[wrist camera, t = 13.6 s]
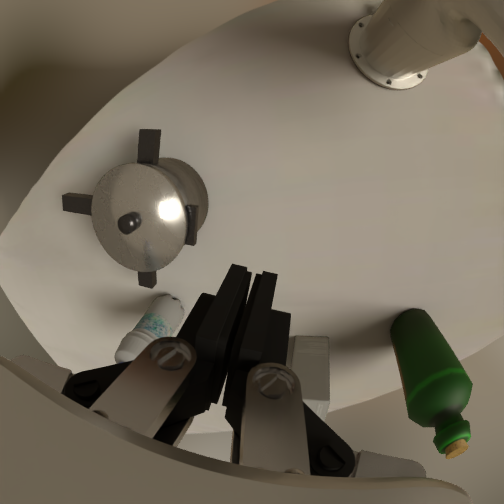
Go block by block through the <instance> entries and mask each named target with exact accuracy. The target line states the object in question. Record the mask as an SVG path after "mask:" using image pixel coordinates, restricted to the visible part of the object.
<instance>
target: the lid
mask: <svg viewBox="0 0 504 504" xmlns="http://www.w3.org/2000/svg"><path fill="white" fill-rule="evenodd" d="M91 214H92V222H93V226H94V230H95V233H96V235H97V237H98V239H99V241H100V243H101V245H102V246H103V248H104V249H105V250H106V252H107V253H108V254H109V255H110V256H111V257H112V258H113V259H114V260H115V261H117V262H118V263H119V264H121V265H123V266H124V267H127V268H129V269H132V270H135V271H140V272H152V271H156V270H159V269H161V268H164V267H165V266H167V265H168V264H169V263H171V262H172V261H173V260H174V259H175V258H176V256H177V255H178V254H179V253H180V251H181V249H182V248H183V246H184V243H185V241H186V237H187V231H188V216H187V210H186V206H185V203H184V200H183V198H182V195H181V194H180V192H179V190H178V188H177V187H176V185H175V184H174V183H173V182H172V180H171V179H170V178H169V177H168V176H167V175H166V174H164V173H163V172H162V171H160V170H159V169H157V168H155V167H153V166H151V165H147V164H143V163H128V164H124V165H120V166H117V167H115V168H113V169H112V170H110V171H109V172H108V173H106V174H105V175H104V176H103V177H102V179H101V180H100V182H99V183H98V185H97V187H96V189H95V192H94V195H93V199H92V206H91Z"/></svg>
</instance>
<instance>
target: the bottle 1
mask: <svg viewBox="0 0 504 504" xmlns="http://www.w3.org/2000/svg"><path fill="white" fill-rule="evenodd" d="M183 316H184V308H183V307H181V305H180V300H178V299H177V300H174V299H172V296H171V295H165V296H160V297H158V298H156V299H155V300H154V301H153V303H152V304H151V305H150V307H149V309H148V310H147V312H146V313H145V315H144V316H143V317H142V319H141V320H140V321H139V323H138V324H137V325H136V326H135V328H134V329H133V330H132V331H131V332H129V333H127V335H126V336H125V337H124V338H123V339H122V341H121V343H120V345H119V347H118V349H117V351H116V353H115V361H116V363H117V364H119V363H123V362H127V361H131V360H134V359H135V358H136V357H137V356H138V355H139V354H140V353H141V352H142V351H143V350H144V349H145V348H146V346H147V345H148V344H150V343H151V342H152V341H153V340H156V339H158V338H161V337H171V336H172V334H173V333H174V331H175V330H176V329H177V327H178V326H179V324H180V323H181V321H182V319H183Z"/></svg>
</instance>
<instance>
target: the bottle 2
mask: <svg viewBox="0 0 504 504" xmlns="http://www.w3.org/2000/svg"><path fill="white" fill-rule="evenodd" d="M390 333H391V340H392V344H393V348H394V352H395V356H396V360H397V364H398V368H399V372H400V377H401V381H402V386H403V390H404V395H405V400H406V406H407V411H408V417H409V418H410V419H411V420H412V421H414V422H415V423H417V424H419V425H420V426H422V427H435V432H436V436H435V437H434V440H433V442H434V444H435V446H436V448H437V450H438V451H439V453H441V454H446V459H450V458H454V457H456V456H458V455H460V454H462V453H463V452H465V451H466V450H467V449H468V445H467V442H468V441H469V439H470V437H471V434H470V424H469V422H468V421H467V420H463V418H462V416H461V414H460V413H461V412H462V411H463V409H464V408H465V407H466V405H467V404H468V401H469V398H470V395H471V390H472V385H473V384H472V382H471V381H470V379H469V377H468V375H467V374H466V372H465V370H464V368H463V367H462V365H461V363H460V362H459V360H458V358H457V357H456V355H455V354H454V352H453V350H452V349H451V347H450V346H449V344H448V343H447V341H446V339H445V338H444V336H443V335H442V333H441V332H440V330H439V329H438V327H437V326H436V325H435V323H434V322H433V320H432V319H431V317H430V316H429V315H428V314H427V312H426V311H425V310H420V309H413V310H410V311H407V312H404V313H403V314H402V315H401V316H399V317H398V318H397V319H396V320H395V321H394V323H393V325H392V327H391V329H390Z"/></svg>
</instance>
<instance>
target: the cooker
mask: <svg viewBox="0 0 504 504" xmlns="http://www.w3.org/2000/svg"><path fill="white" fill-rule="evenodd" d="M160 137H161V130H159V129H140V131H139V143H138V159H137V163H143V164H147V165H151V166H153V167H155V168H157V169H159V170H160V171H162V172H163V173H164V174H166V175H167V176H168V177H169V178H170V179H171V180H172V182H173V183H174V184H175V185H176V187H177V188H178V190H179V192H180V194H181V195H182V198H183V200H184V203H185V206H186V210H187V216H188V231H187V237H186V241H185V243H184V245H185V244H187V245H192V246H194V245H195V244H196V241H197V232H198V230H199V229H200V228H201V227H202V225H203V223H204V221H205V219H206V216H207V212H208V194H207V190H206V187H205V184H204V182H203V180H202V179H201V177H200V176H199V174H198V173H197V172H196V171H195V170H194V169H193V168H192V167H191V166H190V165H188V164H187V163H185V162H183V161H181V160H178V159H174V158H159V149H160ZM92 199H93V195H86V194H77V193H67V194H64V195H62V202H63V211H68V212H74V213H80V214H86V215H92V214H91V206H92ZM138 281H139V285H140V286H144V287H148V288H151V289H152V288H153V287H154V286H155V285H156V284H157V278H156V271H152V272H140V271H138Z"/></svg>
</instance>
